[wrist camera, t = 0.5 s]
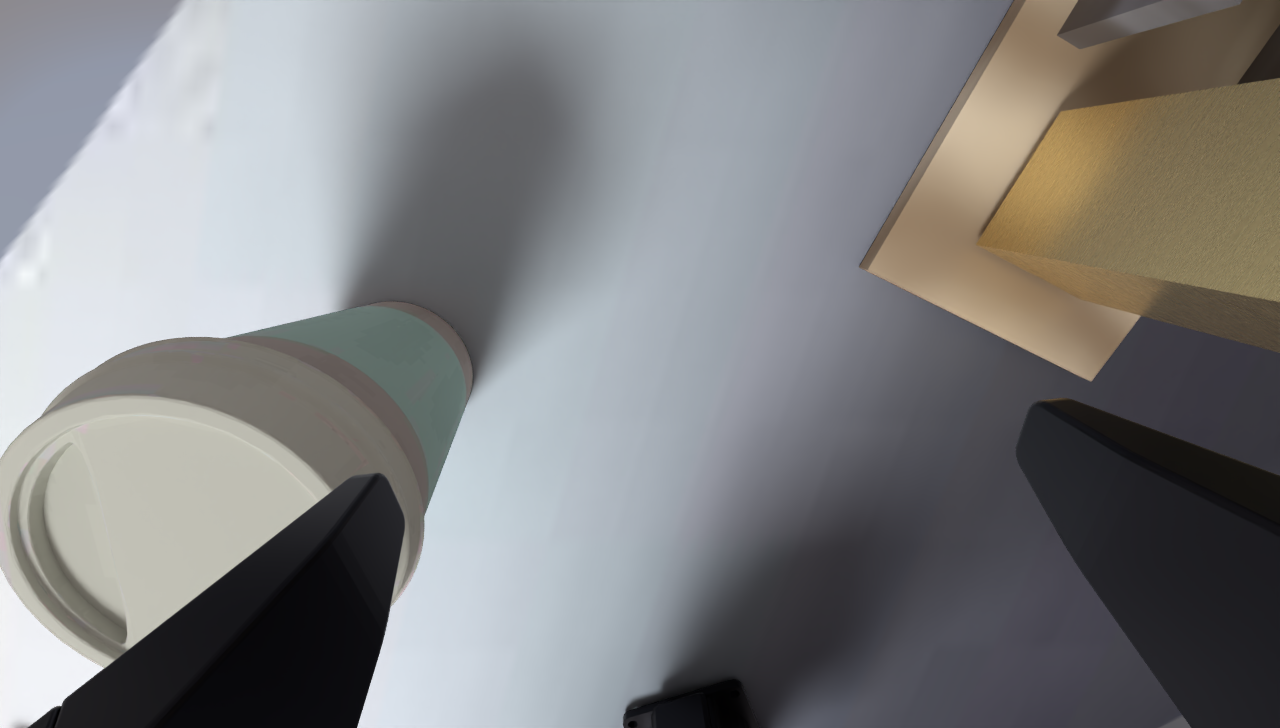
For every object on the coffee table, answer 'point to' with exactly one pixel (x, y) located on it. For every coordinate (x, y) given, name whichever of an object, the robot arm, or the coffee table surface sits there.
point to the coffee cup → (218, 461)
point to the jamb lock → (1014, 128)
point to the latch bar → (1158, 210)
